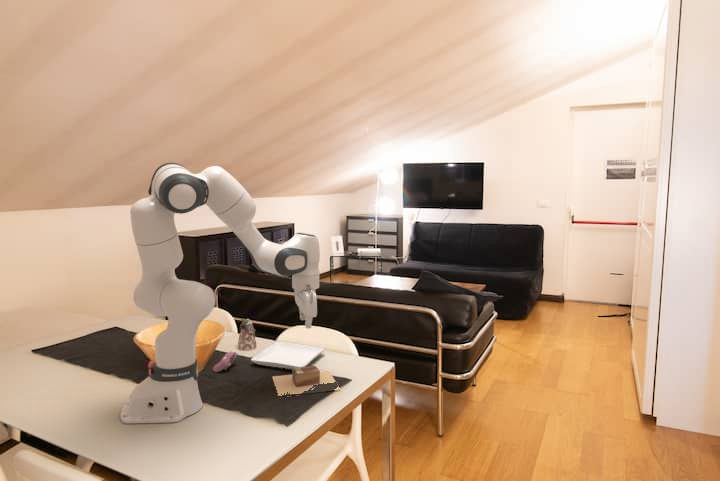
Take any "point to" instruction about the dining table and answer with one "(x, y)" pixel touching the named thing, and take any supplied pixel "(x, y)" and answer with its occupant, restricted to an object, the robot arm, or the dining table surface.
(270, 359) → the salad plate
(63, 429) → the dining table surface
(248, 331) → the figurine
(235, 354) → the pink oblong lump
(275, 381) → the cork mat
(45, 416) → the dining table surface
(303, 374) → the walnut card box
